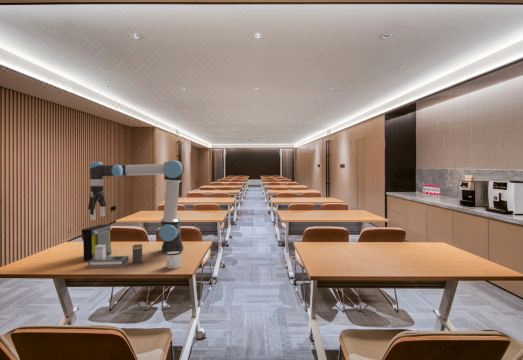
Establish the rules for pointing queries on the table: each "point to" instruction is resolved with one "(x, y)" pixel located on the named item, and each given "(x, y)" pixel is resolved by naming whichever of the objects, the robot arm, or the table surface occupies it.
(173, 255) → the mug
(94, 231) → the electrical component
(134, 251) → the plug
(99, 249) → the white rectangular block
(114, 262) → the pdu strip
